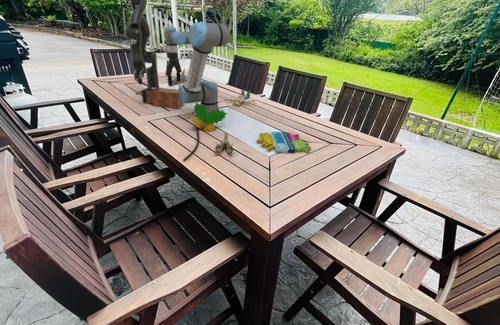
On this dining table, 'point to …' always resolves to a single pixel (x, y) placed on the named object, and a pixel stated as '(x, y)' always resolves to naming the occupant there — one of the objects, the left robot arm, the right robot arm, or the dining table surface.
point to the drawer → (146, 95)
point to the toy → (241, 99)
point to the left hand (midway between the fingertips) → (140, 84)
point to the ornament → (207, 117)
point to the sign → (283, 142)
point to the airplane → (180, 78)
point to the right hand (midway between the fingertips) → (174, 83)
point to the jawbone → (224, 145)
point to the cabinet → (166, 98)
